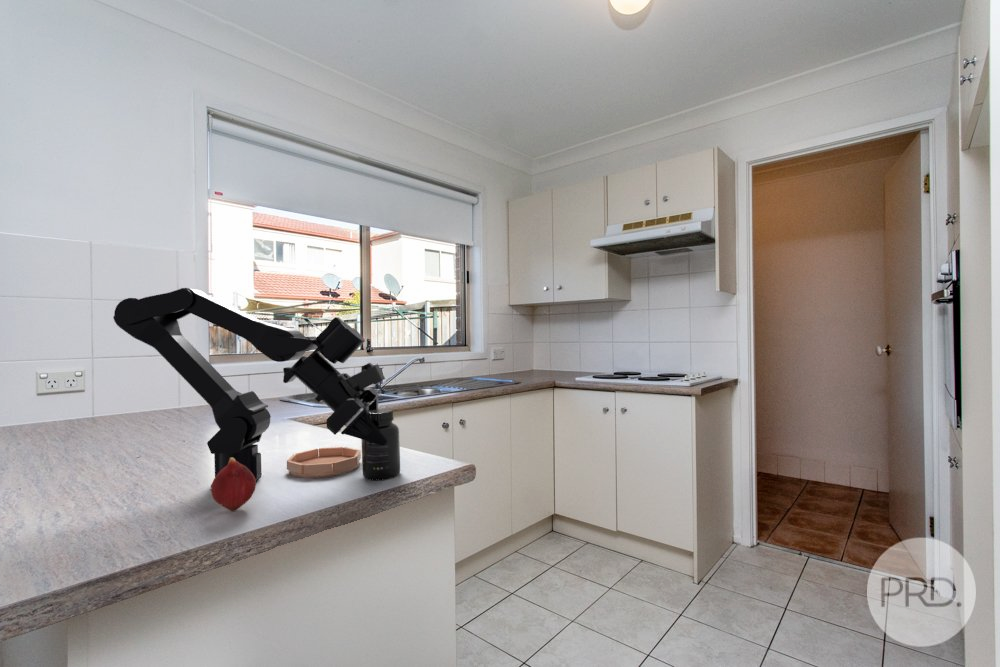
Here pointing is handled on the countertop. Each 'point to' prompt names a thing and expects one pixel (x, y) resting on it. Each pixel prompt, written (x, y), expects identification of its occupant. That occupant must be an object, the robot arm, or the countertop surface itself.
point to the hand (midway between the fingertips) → (388, 439)
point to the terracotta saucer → (323, 462)
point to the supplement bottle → (382, 448)
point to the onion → (233, 485)
